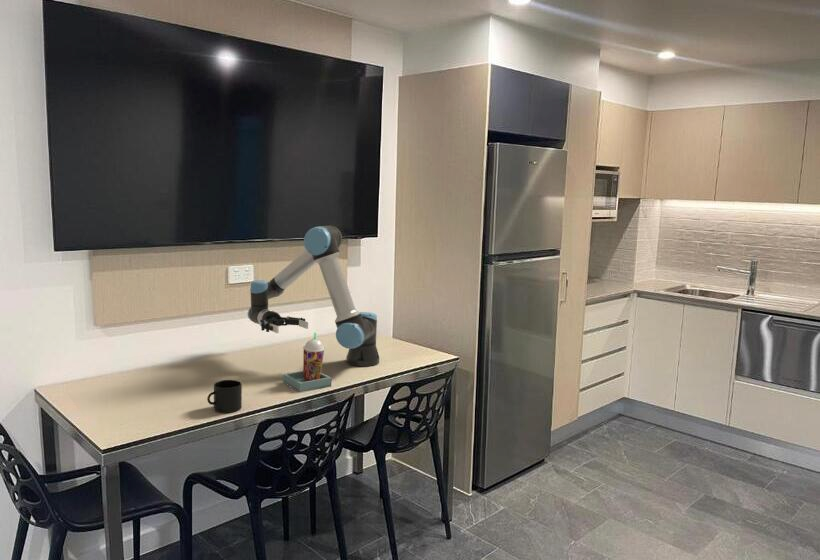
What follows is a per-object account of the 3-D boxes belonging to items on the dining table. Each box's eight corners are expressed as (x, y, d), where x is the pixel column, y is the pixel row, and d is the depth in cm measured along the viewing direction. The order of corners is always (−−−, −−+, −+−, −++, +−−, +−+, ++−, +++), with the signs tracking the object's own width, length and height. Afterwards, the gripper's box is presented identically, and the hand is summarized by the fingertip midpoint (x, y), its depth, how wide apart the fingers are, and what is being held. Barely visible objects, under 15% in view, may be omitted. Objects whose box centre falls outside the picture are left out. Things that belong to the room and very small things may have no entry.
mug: (202, 408, 220) (202, 383, 218) (235, 402, 227) (235, 378, 226) (212, 416, 212) (212, 391, 211) (245, 410, 220) (245, 385, 218)
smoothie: (316, 385, 247) (319, 337, 243) (297, 381, 249) (300, 333, 246) (325, 379, 255) (329, 332, 251) (307, 375, 257) (310, 328, 254)
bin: (313, 376, 260) (313, 368, 259) (331, 386, 249) (331, 377, 249) (283, 382, 251) (283, 374, 251) (300, 392, 240) (300, 383, 240)
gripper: (295, 323, 281) (319, 332, 264) (242, 331, 265) (264, 340, 249) (294, 307, 280) (319, 315, 263) (242, 313, 264) (264, 322, 248)
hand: (292, 327), depth 256 cm, fingers open, 13 cm apart
